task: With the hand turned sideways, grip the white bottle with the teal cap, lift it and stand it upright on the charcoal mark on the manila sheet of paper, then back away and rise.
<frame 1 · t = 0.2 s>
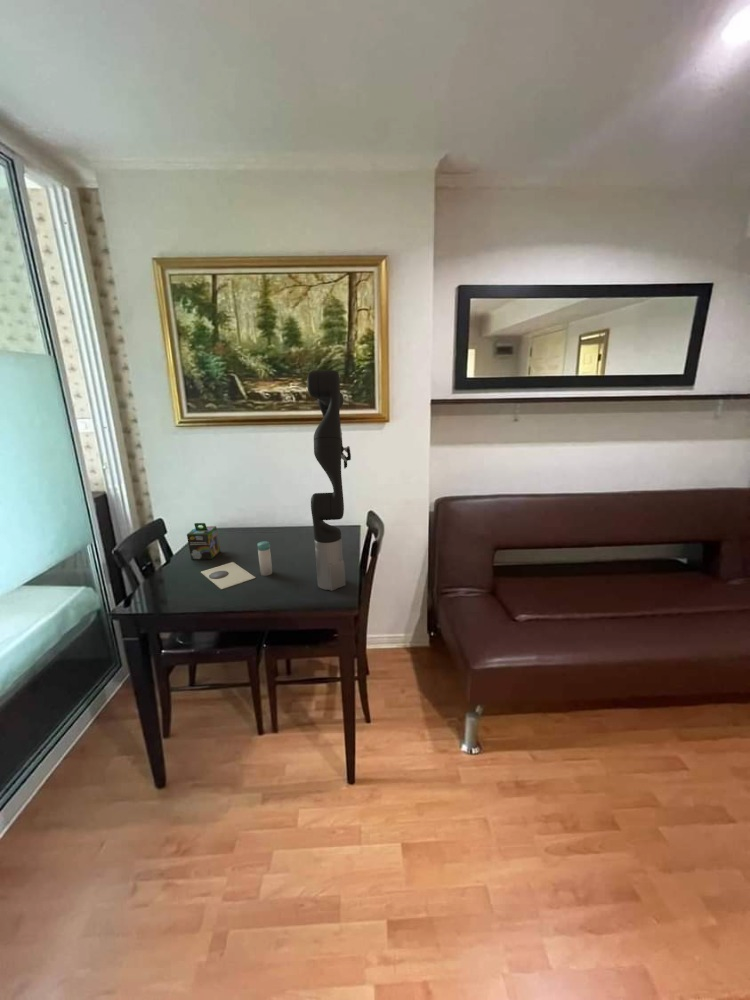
hand: (335, 467, 201), 31 cm above the table, tool tilted 20°, fingers open, 8 cm apart
paper: (227, 575, 165), on the table
white bottle: (266, 573, 166), on the table
chalk box: (205, 555, 185), on the table
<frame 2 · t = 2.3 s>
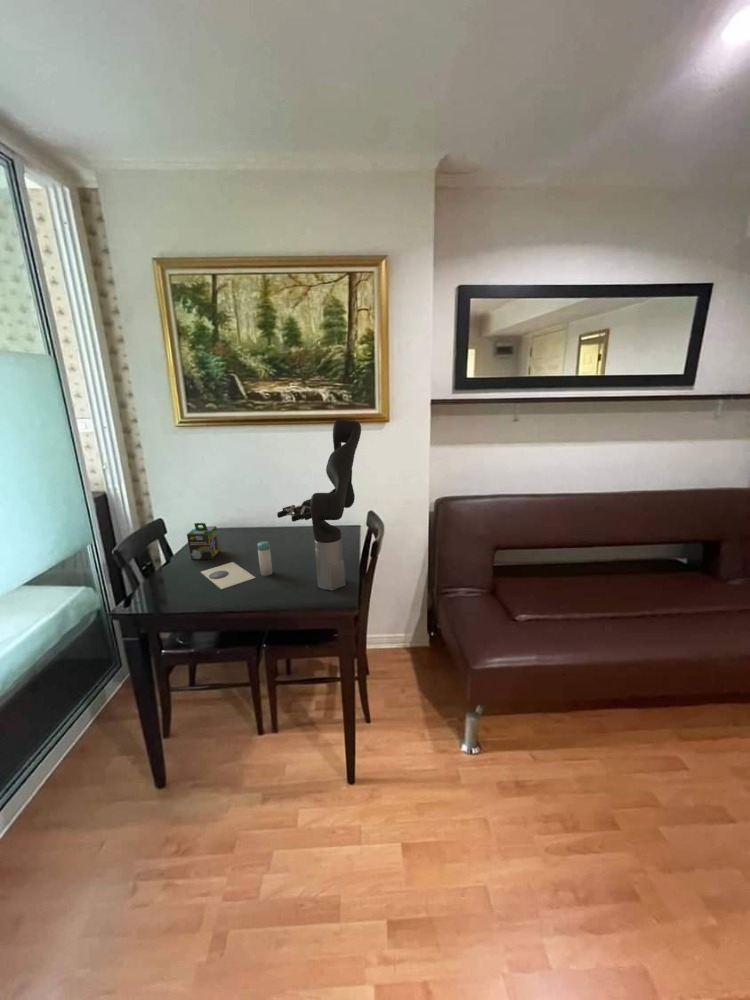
hand: (284, 517, 169), 19 cm above the table, tool horizontal, fingers open, 8 cm apart
nothing on the table moved.
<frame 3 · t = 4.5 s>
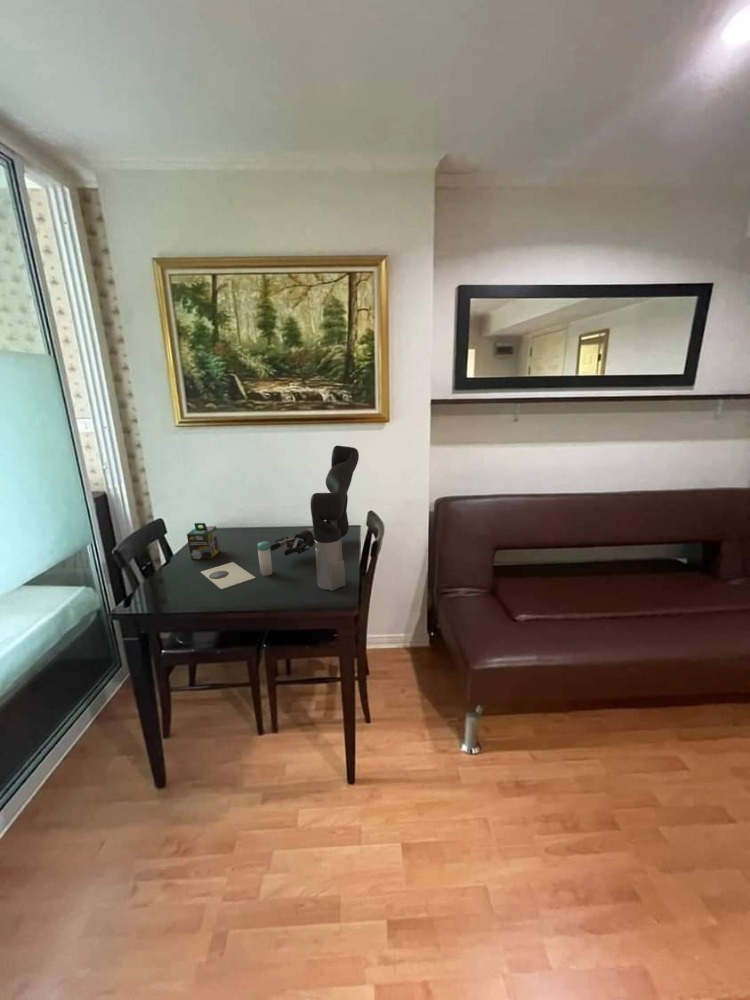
hand: (277, 550, 168), 7 cm above the table, tool horizontal, fingers open, 8 cm apart
nothing on the table moved.
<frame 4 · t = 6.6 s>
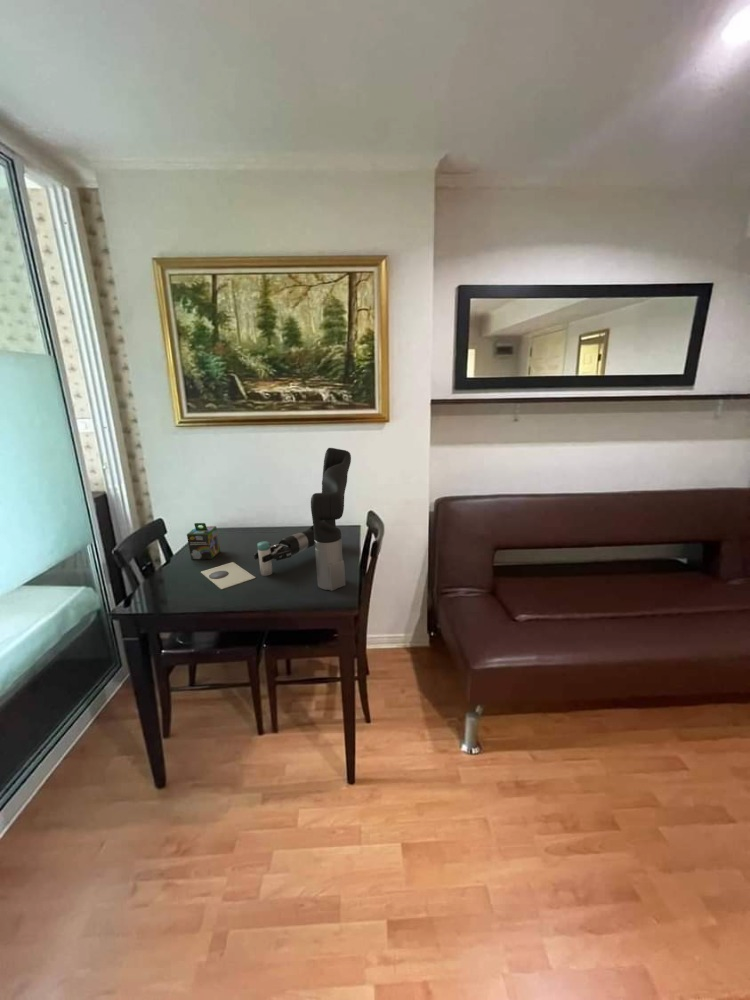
hand: (258, 558, 162), 7 cm above the table, tool horizontal, fingers closed on white bottle, 4 cm apart
white bottle: (266, 573, 166), on the table, touching gripper
everything else where it was.
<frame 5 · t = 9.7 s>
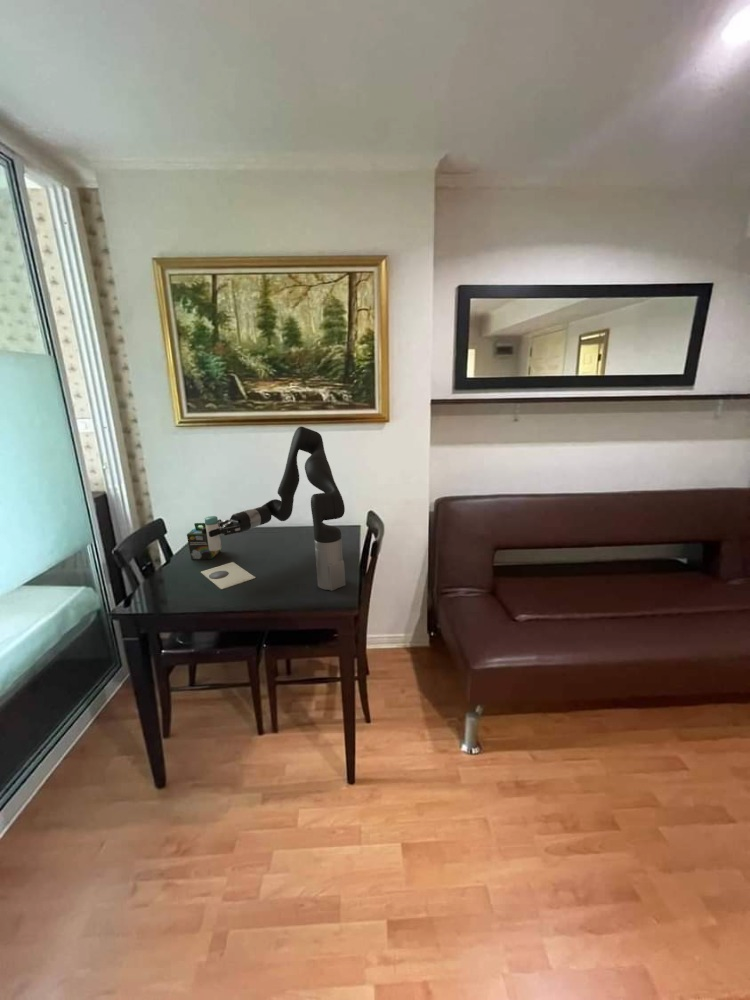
hand: (206, 533, 158), 18 cm above the table, tool horizontal, fingers closed on white bottle, 4 cm apart
white bottle: (215, 548, 162), point 11 cm above the table, touching gripper
everything else where it was.
when the fingers open (9 cm above the table, at t = 12.9 s): white bottle drops 1 cm, resting on paper.
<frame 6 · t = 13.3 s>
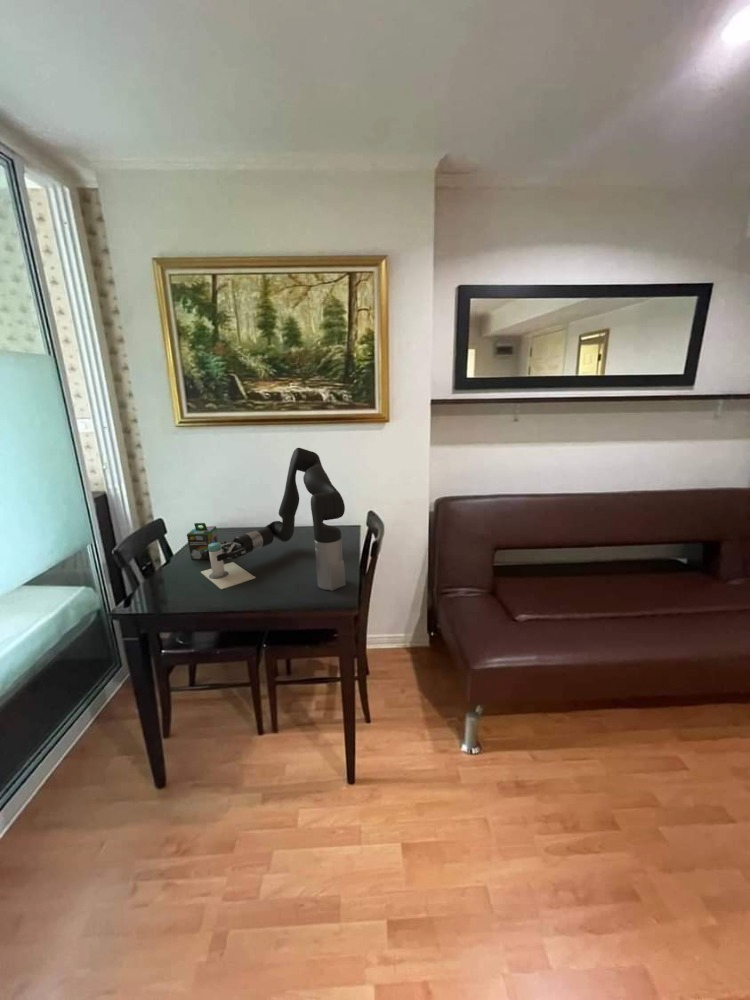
hand: (211, 556, 161), 9 cm above the table, tool horizontal, fingers open, 8 cm apart
white bottle: (219, 574, 165), resting on paper
everything else where it was.
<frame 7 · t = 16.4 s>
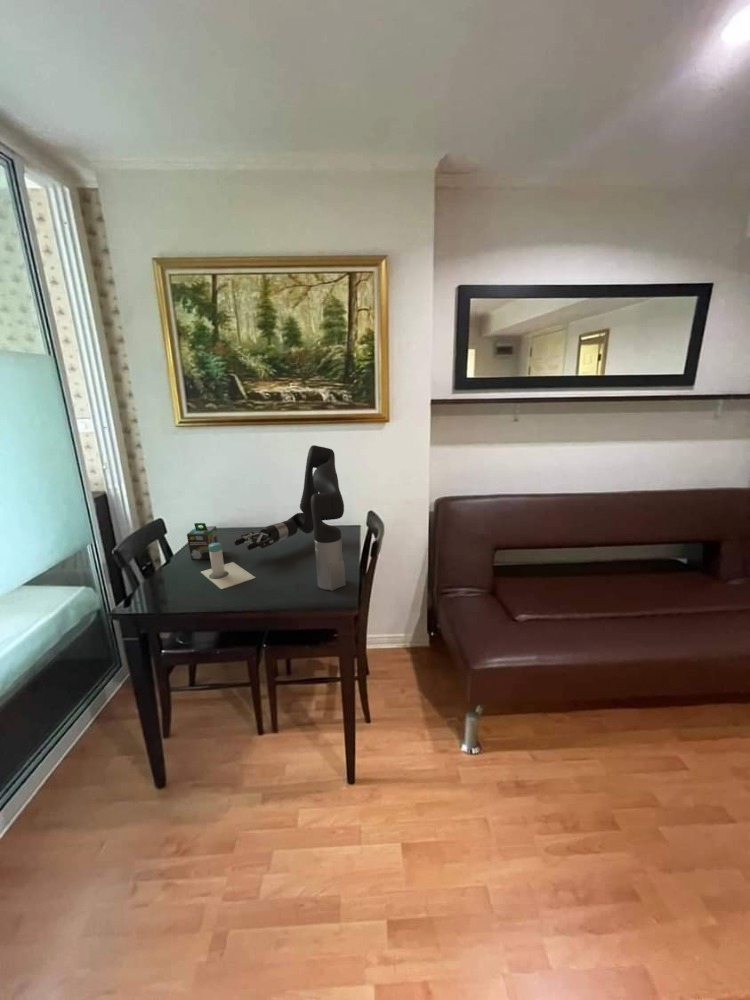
hand: (241, 545, 171), 9 cm above the table, tool horizontal, fingers open, 8 cm apart
nothing on the table moved.
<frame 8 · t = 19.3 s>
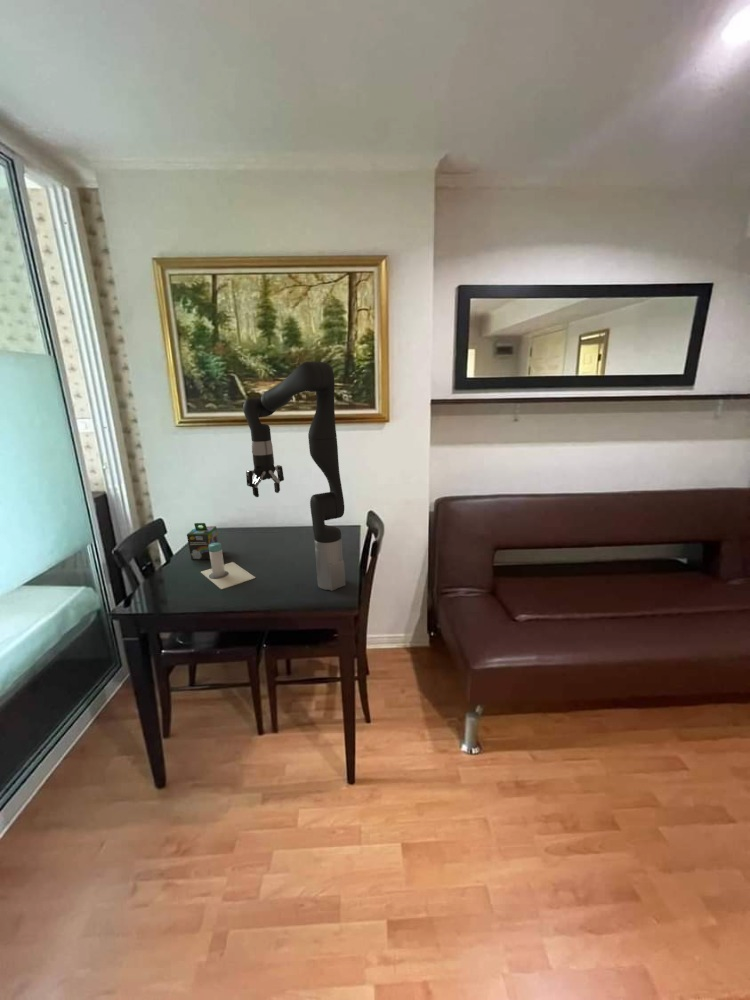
hand: (267, 494, 168), 28 cm above the table, tool pointing down, fingers open, 8 cm apart
nothing on the table moved.
at the end: white bottle 0.1 cm from the target spot on the paper, point 0.4 cm above the paper's base; white bottle tilted 0°; the gripper is holding nothing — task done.
